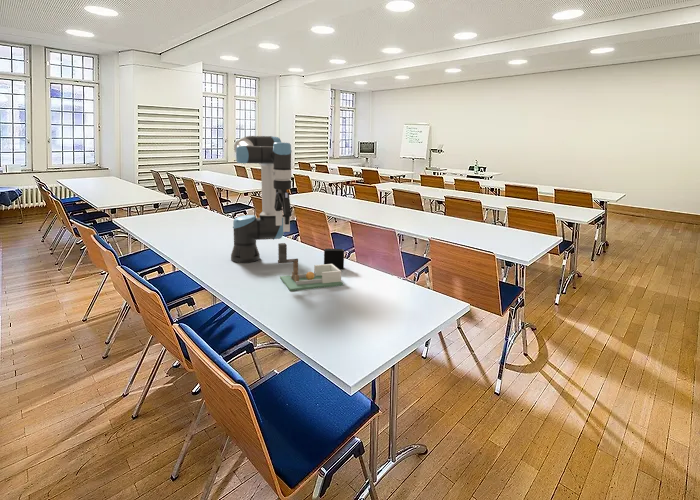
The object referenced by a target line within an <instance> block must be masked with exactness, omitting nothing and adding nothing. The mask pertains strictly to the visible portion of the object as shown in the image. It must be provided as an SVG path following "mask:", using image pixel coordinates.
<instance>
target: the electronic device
mask: <svg viewBox="0 0 700 500" xmlns="http://www.w3.org/2000/svg"><path fill="white" fill-rule="evenodd" d="M323 253H324V254H323V256H324V257H323V264H333V265H334V266H335V267H337V268H338V269H339V270H340V271H342V270H344V269H345V267H344V266H345V265H344V264H345V250H344V249H343V248H324V249H323Z"/></svg>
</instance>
